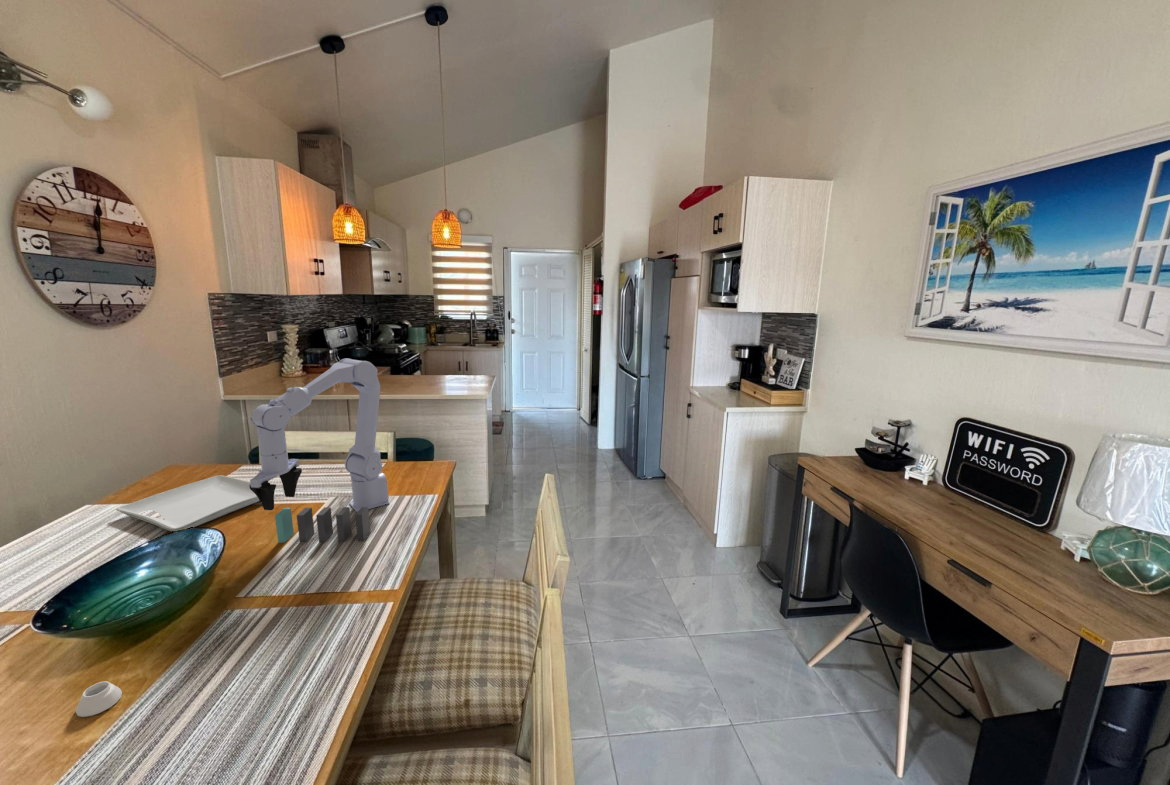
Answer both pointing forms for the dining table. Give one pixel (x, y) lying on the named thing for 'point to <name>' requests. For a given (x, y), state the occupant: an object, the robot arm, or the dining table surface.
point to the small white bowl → (98, 698)
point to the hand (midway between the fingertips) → (279, 502)
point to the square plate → (194, 502)
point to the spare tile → (284, 525)
